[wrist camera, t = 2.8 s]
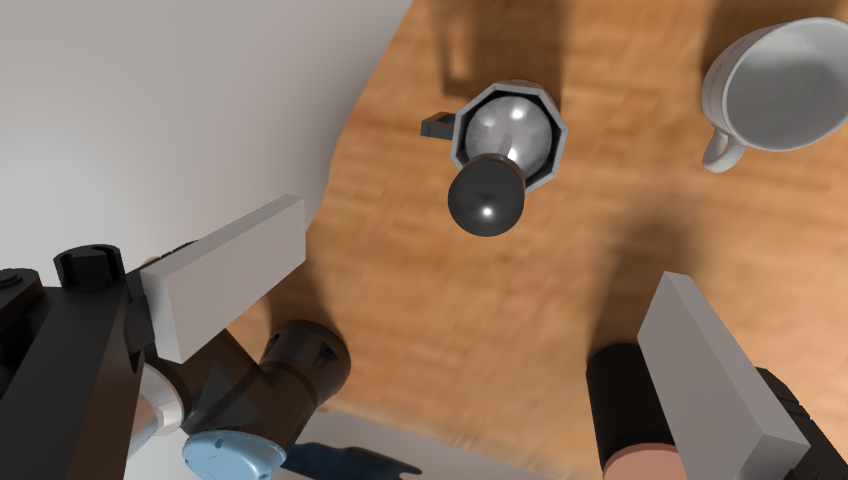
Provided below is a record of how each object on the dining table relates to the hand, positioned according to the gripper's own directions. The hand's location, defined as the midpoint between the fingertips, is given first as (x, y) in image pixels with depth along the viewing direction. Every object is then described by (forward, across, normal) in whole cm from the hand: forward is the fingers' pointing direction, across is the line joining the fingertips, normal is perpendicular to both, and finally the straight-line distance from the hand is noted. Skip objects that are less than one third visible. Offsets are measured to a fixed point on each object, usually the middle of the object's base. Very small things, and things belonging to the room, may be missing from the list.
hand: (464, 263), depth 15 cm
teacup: (+38, +22, +6) cm, 44 cm away
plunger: (+27, 0, 0) cm, 27 cm away
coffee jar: (+38, +22, -31) cm, 54 cm away
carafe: (+38, -2, 0) cm, 38 cm away
